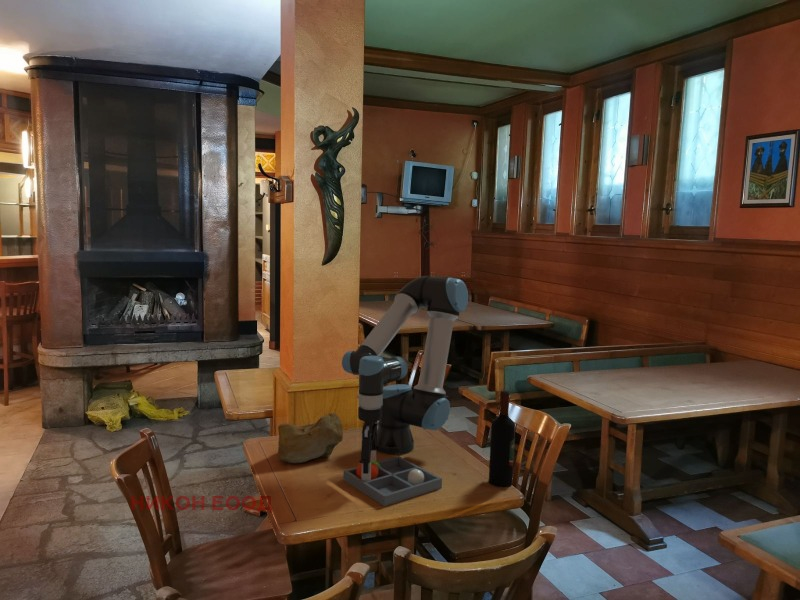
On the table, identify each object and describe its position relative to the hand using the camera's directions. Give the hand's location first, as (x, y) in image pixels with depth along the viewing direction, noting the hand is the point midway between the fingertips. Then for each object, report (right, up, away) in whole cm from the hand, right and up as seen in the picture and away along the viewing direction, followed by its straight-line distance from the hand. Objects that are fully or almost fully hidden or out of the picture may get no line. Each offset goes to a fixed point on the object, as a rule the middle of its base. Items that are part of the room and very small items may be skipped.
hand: (368, 475), depth 187 cm
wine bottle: (+42, -4, +5) cm, 43 cm away
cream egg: (+15, -3, -2) cm, 15 cm away
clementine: (0, -2, 0) cm, 2 cm away
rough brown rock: (-23, 0, +24) cm, 33 cm away
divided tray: (+7, -3, -1) cm, 8 cm away
